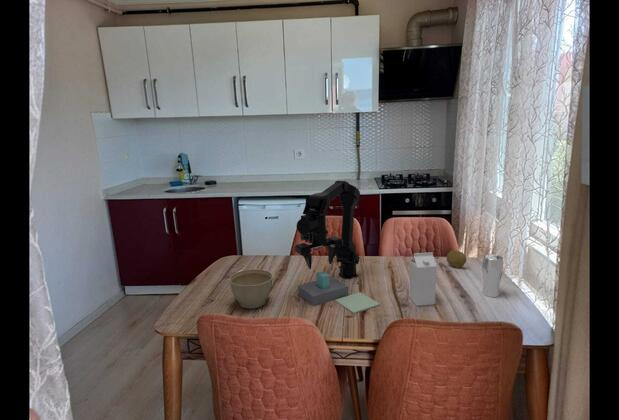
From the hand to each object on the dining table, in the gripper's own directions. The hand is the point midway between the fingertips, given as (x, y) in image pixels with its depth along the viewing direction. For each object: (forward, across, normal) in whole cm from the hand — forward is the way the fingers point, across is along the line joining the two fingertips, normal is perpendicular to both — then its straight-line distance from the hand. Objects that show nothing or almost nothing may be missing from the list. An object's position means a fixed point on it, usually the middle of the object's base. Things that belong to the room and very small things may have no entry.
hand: (320, 266), depth 144 cm
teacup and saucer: (+13, +21, -36) cm, 44 cm away
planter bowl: (+12, +26, -8) cm, 29 cm away
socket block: (+12, 0, +1) cm, 12 cm away
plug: (+12, 0, +1) cm, 12 cm away
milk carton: (+12, -28, +26) cm, 40 cm away
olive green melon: (+13, -66, +10) cm, 68 cm away
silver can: (+12, -54, +36) cm, 66 cm away
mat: (+12, -7, +14) cm, 20 cm away
